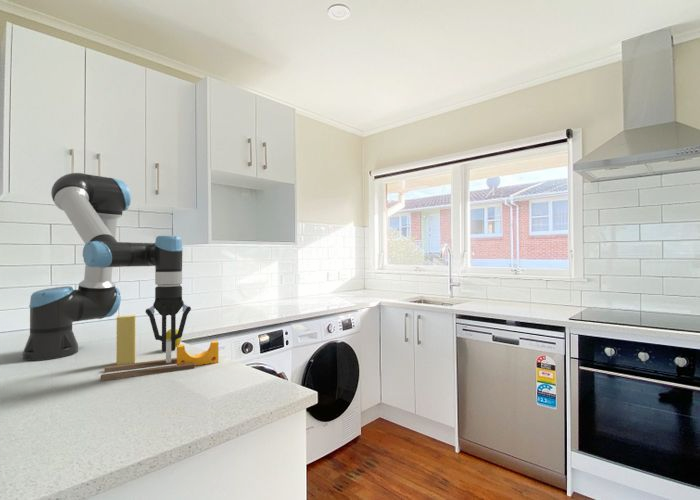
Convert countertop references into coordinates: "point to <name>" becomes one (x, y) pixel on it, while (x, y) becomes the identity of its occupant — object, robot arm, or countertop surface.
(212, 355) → the pipe clamp
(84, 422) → the countertop surface
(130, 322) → the yellow rectangular block
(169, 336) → the lemon
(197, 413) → the countertop surface
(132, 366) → the channel
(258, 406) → the countertop surface
